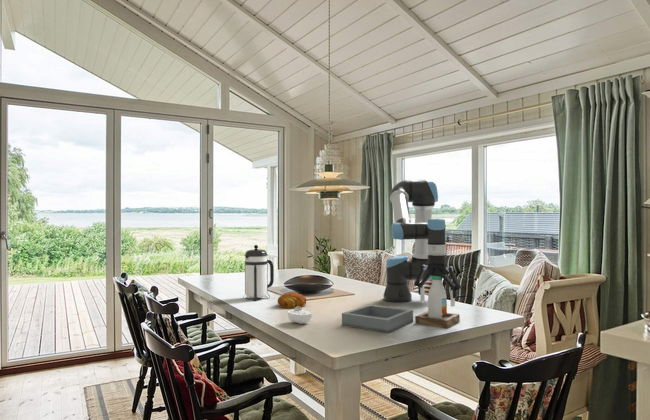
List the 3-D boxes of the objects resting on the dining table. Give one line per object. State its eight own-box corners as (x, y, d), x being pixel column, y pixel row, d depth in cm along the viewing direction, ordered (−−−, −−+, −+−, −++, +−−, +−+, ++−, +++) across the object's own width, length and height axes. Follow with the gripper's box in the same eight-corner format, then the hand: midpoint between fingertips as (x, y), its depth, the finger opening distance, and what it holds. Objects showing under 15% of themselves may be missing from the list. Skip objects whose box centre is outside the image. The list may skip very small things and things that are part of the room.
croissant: (273, 312, 226) (272, 296, 225) (286, 302, 241) (284, 287, 240) (300, 313, 221) (298, 297, 221) (311, 302, 236) (310, 288, 235)
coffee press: (269, 301, 244) (269, 245, 244) (240, 301, 244) (240, 246, 244) (274, 295, 261) (273, 243, 261) (246, 295, 261) (246, 243, 262)
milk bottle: (436, 325, 187) (436, 277, 187) (424, 321, 194) (423, 275, 194) (450, 323, 190) (450, 275, 190) (438, 319, 197) (437, 273, 197)
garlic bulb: (294, 327, 186) (294, 311, 186) (284, 321, 197) (284, 306, 197) (316, 324, 190) (316, 308, 190) (305, 319, 201) (305, 303, 201)
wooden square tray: (429, 317, 202) (428, 310, 202) (459, 321, 193) (459, 314, 193) (415, 323, 191) (415, 316, 191) (447, 328, 182) (447, 320, 182)
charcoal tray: (369, 315, 207) (369, 304, 207) (413, 321, 193) (412, 310, 193) (341, 325, 189) (341, 313, 189) (388, 333, 176) (388, 320, 176)
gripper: (406, 253, 197) (406, 302, 196) (462, 256, 182) (463, 309, 182) (413, 252, 203) (414, 299, 202) (468, 255, 188) (469, 306, 188)
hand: (437, 304), depth 192 cm, fingers open, 13 cm apart
